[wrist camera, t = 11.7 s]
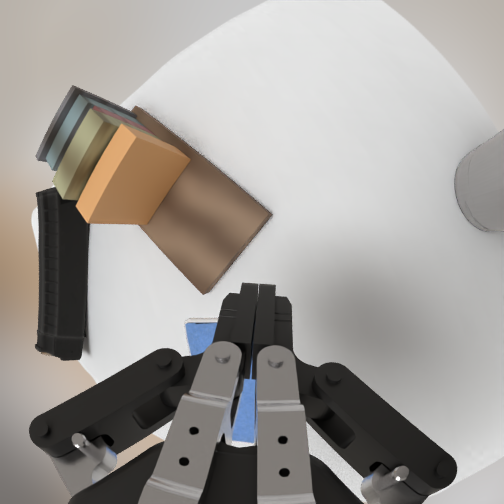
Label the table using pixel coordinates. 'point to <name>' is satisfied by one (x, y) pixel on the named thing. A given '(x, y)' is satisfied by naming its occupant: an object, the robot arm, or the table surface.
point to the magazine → (61, 276)
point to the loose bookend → (130, 179)
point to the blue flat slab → (202, 337)
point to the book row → (177, 199)
